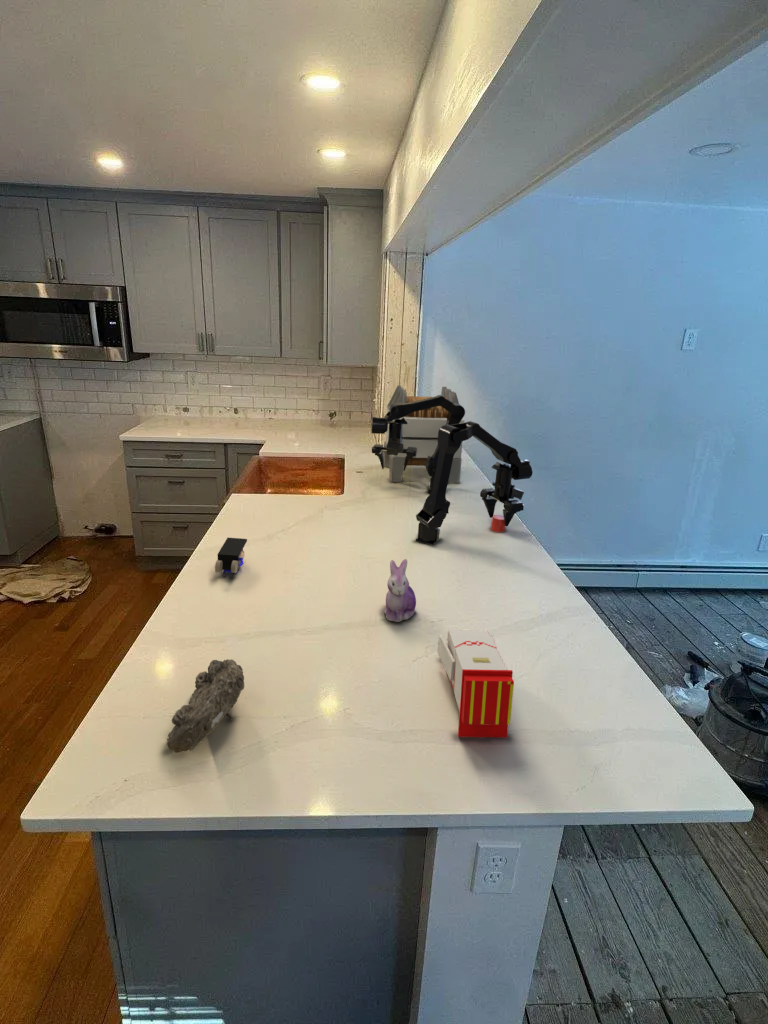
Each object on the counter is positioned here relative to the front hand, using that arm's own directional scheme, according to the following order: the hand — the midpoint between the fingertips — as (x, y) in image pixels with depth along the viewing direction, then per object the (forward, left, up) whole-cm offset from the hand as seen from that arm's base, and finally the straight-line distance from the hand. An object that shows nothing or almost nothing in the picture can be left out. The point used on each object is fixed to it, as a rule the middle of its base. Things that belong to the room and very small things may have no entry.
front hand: (498, 521), depth 207 cm
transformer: (-52, +56, -3) cm, 76 cm away
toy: (+17, -96, -3) cm, 97 cm away
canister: (0, 0, -3) cm, 3 cm away
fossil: (-25, -126, -3) cm, 129 cm away
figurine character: (-62, -73, -3) cm, 96 cm away
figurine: (-8, -73, -3) cm, 74 cm away
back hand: (-52, +22, +6) cm, 56 cm away
